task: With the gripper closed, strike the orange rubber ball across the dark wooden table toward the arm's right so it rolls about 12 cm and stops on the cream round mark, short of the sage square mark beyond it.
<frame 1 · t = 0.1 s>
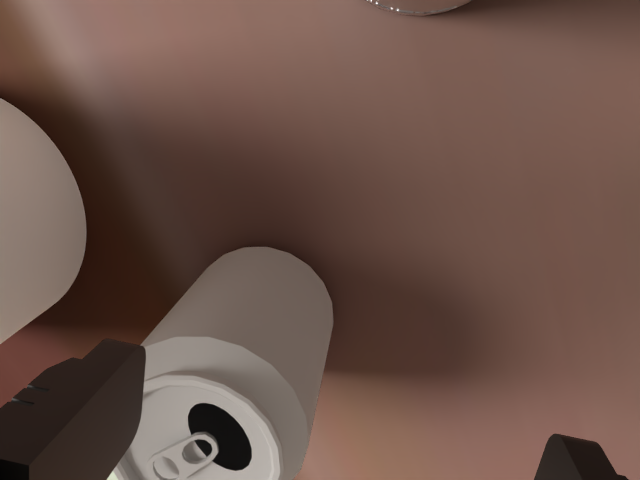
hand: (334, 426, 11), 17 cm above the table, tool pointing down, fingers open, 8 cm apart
can: (267, 304, 30), on the table
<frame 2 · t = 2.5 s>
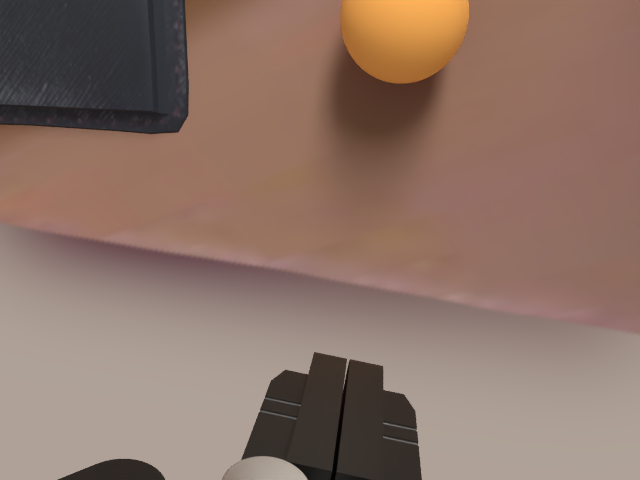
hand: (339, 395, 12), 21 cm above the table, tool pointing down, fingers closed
ball: (403, 17, 26), on the table
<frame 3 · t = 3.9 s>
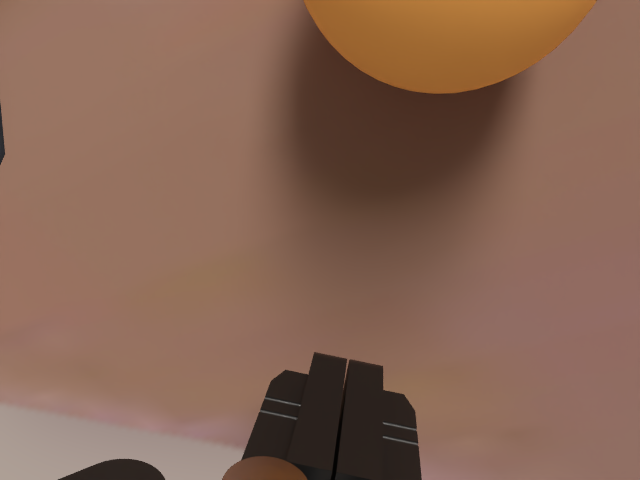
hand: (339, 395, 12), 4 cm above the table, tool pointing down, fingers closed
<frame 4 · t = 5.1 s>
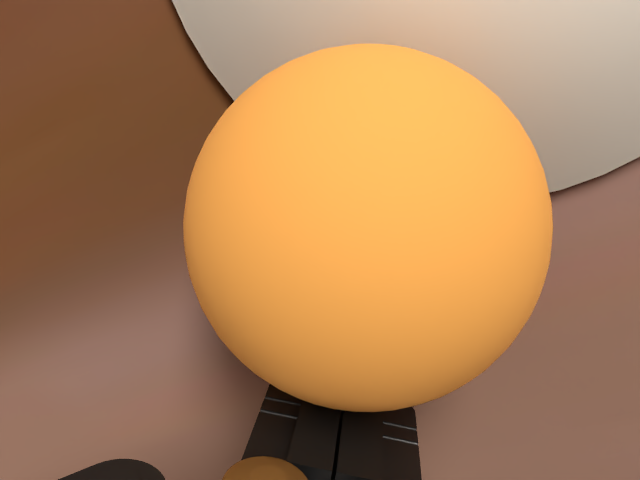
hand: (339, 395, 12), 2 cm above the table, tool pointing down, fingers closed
ball: (363, 229, 9), on the table, touching gripper
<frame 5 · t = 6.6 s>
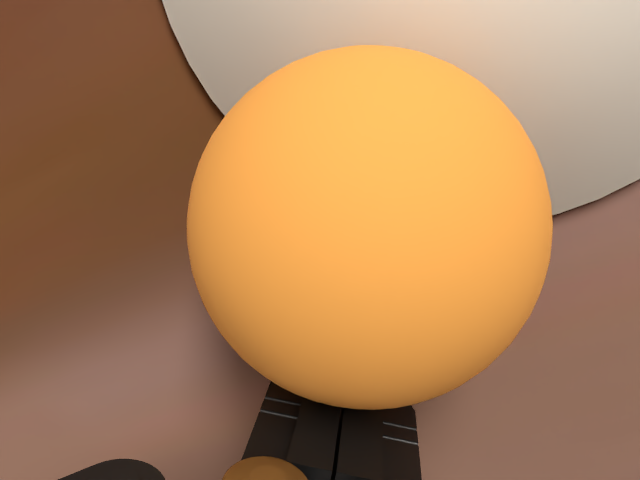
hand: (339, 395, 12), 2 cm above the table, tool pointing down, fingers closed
ball: (364, 228, 9), on the table, touching gripper
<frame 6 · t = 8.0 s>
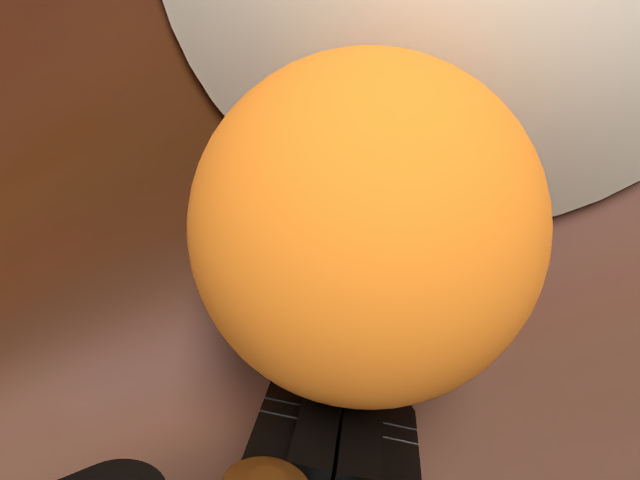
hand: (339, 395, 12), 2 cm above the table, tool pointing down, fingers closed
ball: (364, 228, 9), on the table, touching gripper
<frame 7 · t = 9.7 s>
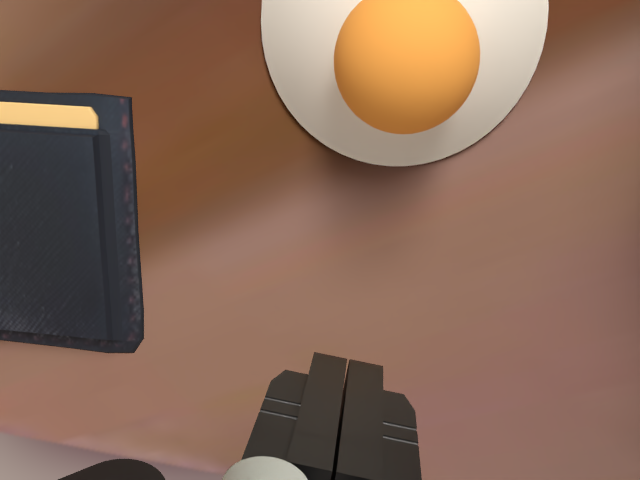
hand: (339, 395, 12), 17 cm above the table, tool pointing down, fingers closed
ball: (405, 61, 23), on the table
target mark: (400, 25, 25), on the table
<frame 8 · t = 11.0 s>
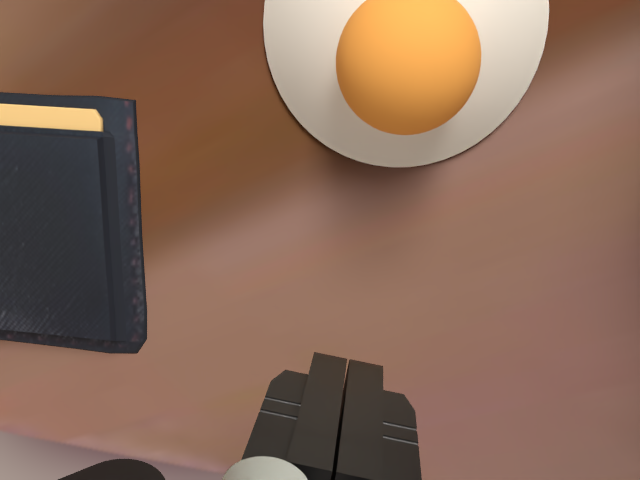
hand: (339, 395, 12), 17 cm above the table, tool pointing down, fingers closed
ball: (407, 62, 23), on the table
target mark: (401, 27, 25), on the table
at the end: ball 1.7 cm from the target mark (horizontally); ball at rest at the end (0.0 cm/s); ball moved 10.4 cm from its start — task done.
